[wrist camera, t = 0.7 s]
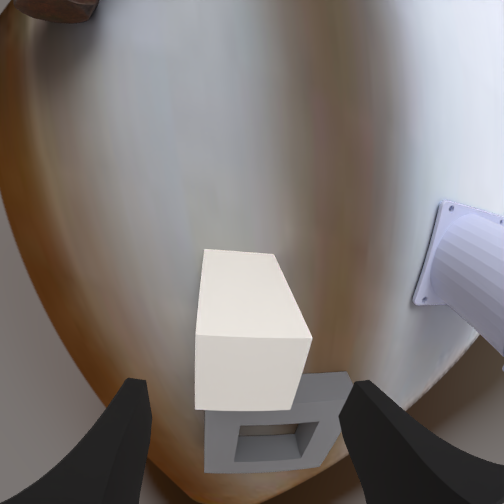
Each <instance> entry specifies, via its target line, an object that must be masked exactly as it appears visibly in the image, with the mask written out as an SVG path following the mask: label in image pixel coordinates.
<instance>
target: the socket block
mask: <svg viewBox="0 0 504 504" xmlns="http://www.w3.org/2000/svg"><path fill="white" fill-rule="evenodd" d="M352 387H353V383H352V381H351V380H350V378H349V376H348V374H347V372H346V371H344V372H330V373H313V374H302V375H301V378H300V382H299V385H298V388H297V391H296V394H295V397H294V400H293V403H292V406H291V409H290V410H276V411H216V410H205V419H204V473H262V472H277V471H289V470H298V469H306V468H314V467H319V466H320V465H321V463H322V462H323V460H324V459H325V457H326V456H327V454H328V452H329V451H330V449H331V447H332V446H333V444H334V442H335V441H336V439H337V437H338V436H339V434H340V432H341V426H340V422H339V417H338V416H339V414H340V412H341V410H342V408H343V406H344V404H345V402H346V400H347V398H348V395H349V393H350V391H351V389H352ZM296 423H299V425H298V427H297V429H296V432H295V434H285V435H266V436H238V435H239V430H240V426H245V425H280V424H296Z"/></svg>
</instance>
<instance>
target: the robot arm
mask: <svg viewBox="0 0 504 504" xmlns="http://www.w3.org/2000/svg"><path fill="white" fill-rule="evenodd" d="M450 206H451V209H450V210H449V208H450ZM423 298H424V299H423ZM422 299H423V300H422ZM413 303H414V304H415V305H417V306H418V305H449V306H450V307H451V308H452V309H453V310H454V311H455V312H457V313H458V314H459V315H460V316H461V317H462V318H463V319H464V320H465V321H467V322H468V323H469V324H470V325H471V326H472V327H473V328H474V329H475V330H476V331H477V332H478V333H480V334H481V335H482V336H483V337H484V338H485V339H486V340H487V341H488V342H489V343H490V344H491V345H492V346H493V347H494V348H495V349H496V350H497V351H498V352H499V353H500V354H501V355H502V356H503V357H504V217H502V216H499V215H496V214H492V213H489V212H486V211H483V210H480V209H476V208H473V207H469V206H466V205H462V204H459V203H455V202H452V201H448V200H443V201H441V203H440V205H439V209H438V214H437V218H436V222H435V226H434V230H433V234H432V238H431V242H430V245H429V249H428V252H427V256H426V259H425V263H424V266H423V269H422V272H421V275H420V278H419V281H418V284H417V287H416V290H415V293H414V296H413ZM502 370H503V371H504V366H503V368H502ZM338 417H339V422H340V426H341V431H342V435H343V438H344V441H345V444H346V447H347V449H348V452H349V454H350V457H351V459H352V462H353V464H354V467H355V469H356V472H357V474H358V477H359V479H360V482H361V485H362V488H363V491H364V494H365V498H366V503H367V504H502V503H504V465H500V464H496V463H492V462H489V461H486V460H483V459H481V458H478V457H475V456H473V455H471V454H469V453H466V452H464V451H462V450H460V449H458V448H456V447H454V446H452V445H451V444H449V443H448V442H446V441H444V440H443V439H441V438H439V437H438V436H436V435H435V434H433V433H432V432H431V431H429V430H428V429H427V428H425V427H424V426H423V425H421V424H420V423H419V422H417V421H416V420H415V419H414V418H412V417H411V416H410V415H409V414H408V413H406V412H405V411H404V410H403V409H402V408H401V407H399V406H398V405H397V404H396V403H395V402H394V401H393V400H392V399H390V398H389V397H388V396H387V395H386V394H385V393H384V392H383V391H381V390H380V389H379V388H378V387H377V386H376V385H375V384H373V383H372V382H371V381H370V380H365V381H356V382H355V383H354V385H353V387H352V389H351V391H350V393H349V395H348V398H347V400H346V402H345V404H344V406H343V408H342V410H341V412H340V414H339V416H338ZM151 424H152V413H151V408H150V402H149V396H148V390H147V383H146V380H140V379H133V378H127V379H126V380H125V382H124V383H123V385H122V386H121V388H120V389H119V391H118V392H117V394H116V395H115V397H114V398H113V400H112V401H111V403H110V404H109V405H108V407H107V408H106V410H105V411H104V412H103V414H102V415H101V416H100V418H99V419H98V420H97V422H96V423H95V424H94V425H93V427H92V428H91V429H90V430H89V431H88V433H87V434H86V435H85V436H84V437H83V438H82V439H81V441H80V442H79V443H78V444H77V445H76V446H75V447H74V448H73V449H72V450H71V451H70V453H68V455H66V456H65V457H64V458H63V459H62V460H61V461H60V462H59V463H58V464H57V465H56V466H55V467H54V468H52V469H51V470H50V471H49V472H48V473H47V474H45V475H44V476H43V477H41V478H40V479H39V480H38V481H36V482H35V483H33V484H32V485H30V486H29V487H27V488H26V489H24V490H23V491H21V492H20V493H18V494H17V495H15V496H13V497H11V498H10V499H8V500H6V501H4V502H2V503H0V504H139V496H140V490H141V485H142V479H143V474H144V469H145V463H146V459H147V454H148V449H149V444H150V435H151Z"/></svg>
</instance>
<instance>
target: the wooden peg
mask: <svg viewBox="0 0 504 504" xmlns="http://www.w3.org/2000/svg"><path fill="white" fill-rule="evenodd" d="M311 342H312V336H311V334H310V331H309V329H308V327H307V325H306V323H305V320H304V318H303V316H302V314H301V312H300V310H299V307H298V305H297V303H296V301H295V299H294V297H293V294H292V292H291V290H290V288H289V286H288V284H287V281H286V279H285V277H284V275H283V273H282V271H281V269H280V266H279V264H278V262H277V260H276V258H275V256H274V254H265V253H251V252H238V251H224V250H211V249H204V256H203V265H202V274H201V283H200V293H199V303H198V313H197V324H196V338H195V409H196V410H216V411H276V410H290V409H291V406H292V403H293V400H294V397H295V394H296V391H297V388H298V385H299V382H300V378H301V375H302V372H303V369H304V365H305V362H306V359H307V355H308V352H309V349H310V345H311Z"/></svg>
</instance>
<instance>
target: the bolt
mask: <svg viewBox="0 0 504 504" xmlns="http://www.w3.org/2000/svg"><path fill="white" fill-rule="evenodd" d="M98 2H99V0H14V6H15V8H17V9H18V10H19V11H21V12H22V13H24V14H26V15H28V16H30V17H33V18H36V19H41V20H45V21H50V22H56V23H80V22H84V21H87V20H89V19H90V17H91V15H92V13H93V12H94V10H95V8H96V6H97V4H98Z"/></svg>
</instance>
